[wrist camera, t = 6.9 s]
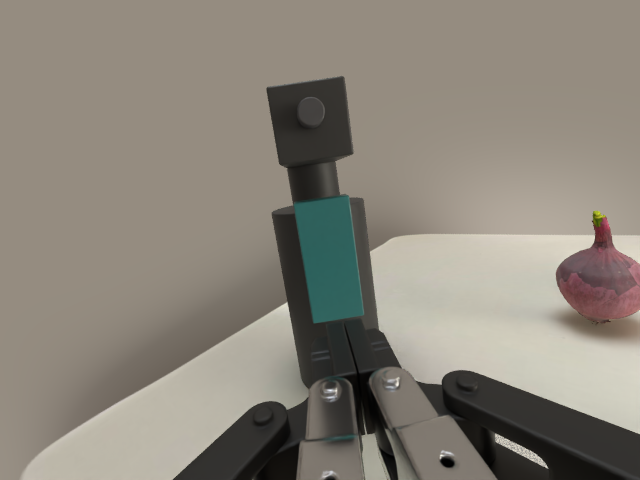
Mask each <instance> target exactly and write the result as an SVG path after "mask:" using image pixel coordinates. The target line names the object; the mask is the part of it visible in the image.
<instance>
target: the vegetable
mask: <svg viewBox="0 0 640 480" xmlns="http://www.w3.org/2000/svg"><path fill="white" fill-rule="evenodd" d="M592 222H593V224H594V225H593V226H594V230H595V241H594V243H593V245H592V247H591V248H589V249H585V250H582V251H579V252H577V253H575V254H573V255H571V256H570V257H568V258H567V259H565V260H564V261H563V262H562V263H561V264H560V265H559V267H558V269H557V271H556V280H557V285H558V287H559V289H560V292H561V293H562V295H563V296H564V298H565V299H566V301H567V302H568V303H569V304H570V305H571V306H572V307H573V308H574V309H575V310H577V311H578V312H579V314H581V315H582V316H584V317H585V318H586V319H588V320H591V321H593V322H594V321H596V322H597V324H598V322H601V323H606V322H611V321H609V319H617V318H622V317H626V316H629V315H632V314H634V313H635V312H637V311H638V310H640V264H639V263H637V262H636V261H635V260H633V259H632V258H630V257H628V256H626V255H624V254H622V253H620V252H619V251H617V250H616V249H615V247H614V245H613V243H612V236H611V231H610V227H609V224H608V221H607V218H606V216H605V215H603V216H602V215H601V213H600V212H599V211H594V212H593V221H592ZM592 324H593V323H592Z"/></svg>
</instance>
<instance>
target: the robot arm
mask: <svg viewBox="0 0 640 480" xmlns="http://www.w3.org/2000/svg"><path fill="white" fill-rule="evenodd" d="M344 327H345V328H344ZM326 328H327V335H328V336H324V337H318V338H315V339H314V341H313V342H312V344H311V365H312V386H311V388H310V390H309V397H308V398H307V399H306V400H305V401H304V402H302V403H301V404H299V405H297V406H295V407H293V408H291V409H288V410H286V408H285V407H284V406H283V405H282V404H281V403H278V402H273V401H269V402H263V403H260V404H257V405H255V406H254V407H252V408H251V409H249V410H248V411H247V412H246V413H245V414H244V415H243V416H241V417H240V418H239V419H238V420H237V421H236V422H235V423H234V424H233V425H232V426H231V427H229V428H228V429H227V430H226V431H225V432H224V433H223V434H222V435H221V436H220V437H219V438H217V439H216V440H215V441H214V442H213V443H212V444H211V445H210V446H209V447H208V448H207V449H205V450H204V451H203V452H202V453H201V454H200V455H199V456H198V457H197V458H196V459H195V460H193V461H192V462H191V463H190V464H189V465H188V466H187V467H186V468H185V469H184V470H183V471H181V472H180V473H179V474H178V475H177V476H176V477H175V478H174V479H173V480H365V475H364V467H363V459H362V451H363V445H362V437H361V436H362V435H365V428H364V423H365V427H366V431H367V434H372V433H375V436H376V440H377V447H378V454H379V458H380V461H381V463H382V466H383V469H384V472H385V474H386V477H387V480H640V434H638V433H635V432H632V431H630V430H627V429H624V428H622V427H619V426H616V425H614V424H611V423H608V422H606V421H603V420H600V419H598V418H595V417H592V416H590V415H587V414H584V413H582V412H579V411H576V410H574V409H571V408H568V407H566V406H563V405H560V404H558V403H555V402H552V401H550V400H547V399H544V398H542V397H539V396H536V395H534V394H531V393H529V392H526V391H523V390H521V389H518V388H515V387H513V386H510V385H507V384H505V383H502V382H499V381H497V380H494V379H491V378H489V377H486V376H483V375H481V374H478V373H475V372H471V371H465V370H458V371H453V372H450V373H448V374H446V375H445V376H444V377H443V379H442V385H438V384H426V383H420V382H417V381H415V380H414V378H413V377H412V375H411V374H410V373H409V372H408V371H406V370H404V369H402V368H401V366H400V364H399V362H398V360H397V358H396V356H395V354H394V352H393V350H392V349H391V347H390V345H389V343H388V341H387V339H386V337H385V335H384V333H382V332H381V331H379V330H378V329H376V328H373V329H367V330H366V329H365V327H364V324H363V322H362V320H361V318H360V319H354V320H348V321H344V324H343V321H342V322H336V323H330V324H326ZM363 419H364V421H363ZM495 433H496V434H498V435H500V436H502V437H504V438H506V439H508V440H510V441H512V442H514V443H516V444H518V445H521V446H523V447H525V448H527V449H529V450H531V451H532V452H534V453H536V454H537V455H538V456H540V457H541V458H542V459H543V460H544V462H545V463H546V465H547V466H548V469H547V468H545V467H543V466H541V465H539V464H537V463H535V462H533V461H531V460H529V459H527V458H525V457H523V456H521V455H520V454H518V453H516V452H514V451H512V450H510V449H508V448H506V447H504V446H502V445H500V444H498V443H496V442H495Z"/></svg>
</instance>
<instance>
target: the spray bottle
mask: <svg viewBox="0 0 640 480" xmlns="http://www.w3.org/2000/svg"><path fill="white" fill-rule="evenodd" d="M267 95H268V101H269V107H270V113H271V119H272V124H273V130H274V136H275V142H276V148H277V154H278V159H279V164H280V165H282V166H284V167H286V168H288V169H287V171H288V176H289V183H290V189H291V195H292V201H293V206H289V207H285V208H281V209H278V210H276V211H273V212H272V219H273V224H274V230H275V235H276V240H277V246H278V252H279V257H280V262H281V268H282V274H283V279H284V284H285V290H286V295H287V301H288V307H289V312H290V318H291V323H292V329H293V334H294V340H295V345H296V351H297V356H298V362H299V367H300V373H301V378H302V380H303V382H304V384H305V385H306V386H307V387H308V388H309V389H310V388H311V386H312V365H311V344H312V342H313V341H314V339H315V338H318V337H324V336H328V335H327V328H326V324H330V323H336V322H342V321H343V324H344V321H348V320H354V319H360V318H361V320H362V322H363V324H364V327H365V329H366V330H367V329H373V328H376V329H378V330H379V326H378V318H377V309H376V301H375V293H374V284H373V276H372V267H371V259H370V251H369V242H368V234H367V226H366V217H365V208H364V200H363V199H362V198H349V200H350V208H351V215H352V223H353V231H354V239H355V247H356V255H357V262H358V270H359V278H360V286H361V294H362V301H363V309H364V315H363V316H357V317H350V318H344V319H338V320H332V321H326V322H320V323H313V319H312V313H311V307H310V301H309V295H308V289H307V283H306V277H305V271H304V265H303V259H302V253H301V247H300V241H299V235H298V229H297V223H296V217H295V211H294V202H297V201H303V200H310V199H316V198H323V197H329V196H336V195H340V192H339V185H338V177H337V170H336V163H335V161H337V160H339V159H342V158H344V157H347V156H350V155H352V154H353V144H352V136H351V127H350V119H349V111H348V102H347V94H346V86H345V78H344V77H343V76H340V77H333V78H326V79H319V80H312V81H306V82H298V83H292V84H284V85H278V86H270V87H267ZM344 328H345V327H344Z"/></svg>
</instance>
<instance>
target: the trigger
mask: <svg viewBox="0 0 640 480" xmlns="http://www.w3.org/2000/svg"><path fill="white" fill-rule="evenodd" d="M294 211H295V217H296V223H297V229H298V235H299V241H300V247H301V253H302V259H303V265H304V271H305V277H306V283H307V289H308V295H309V301H310V307H311V313H312V319H313V323H320V322H326V321H332V320H338V319H344V318H350V317H357V316H363V315H364V309H363V301H362V294H361V286H360V278H359V270H358V262H357V255H356V247H355V239H354V231H353V223H352V215H351V208H350V200H349V196H348V195H346V194H343V195H336V196H329V197H323V198H316V199H310V200H303V201H297V202H294Z"/></svg>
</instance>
